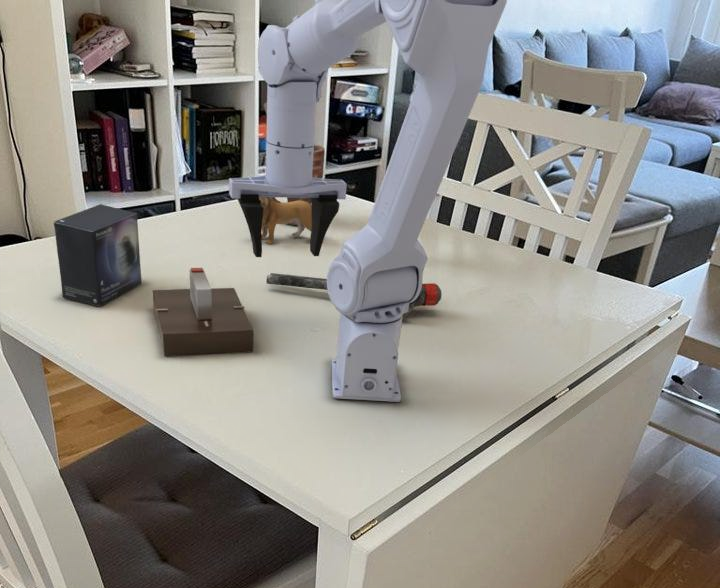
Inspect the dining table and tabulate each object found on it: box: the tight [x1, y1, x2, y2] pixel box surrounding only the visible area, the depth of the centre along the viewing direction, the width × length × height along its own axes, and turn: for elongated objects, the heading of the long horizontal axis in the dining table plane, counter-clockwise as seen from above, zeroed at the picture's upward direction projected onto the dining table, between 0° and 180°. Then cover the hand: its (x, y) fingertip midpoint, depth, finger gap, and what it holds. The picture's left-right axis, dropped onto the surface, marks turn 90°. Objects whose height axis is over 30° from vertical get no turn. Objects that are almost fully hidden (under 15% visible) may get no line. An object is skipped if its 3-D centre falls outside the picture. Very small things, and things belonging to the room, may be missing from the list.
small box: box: [53, 203, 142, 307], centre depth 104 cm, size 11×6×10 cm, turn 161°
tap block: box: [151, 287, 255, 357], centre depth 98 cm, size 14×11×3 cm
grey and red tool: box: [266, 272, 443, 320], centre depth 113 cm, size 6×26×15 cm
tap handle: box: [188, 267, 212, 320], centre depth 96 cm, size 7×2×4 cm, turn 18°
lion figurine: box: [259, 197, 312, 245], centre depth 129 cm, size 15×5×9 cm, turn 118°
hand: (286, 254), depth 99 cm, fingers open, 7 cm apart
